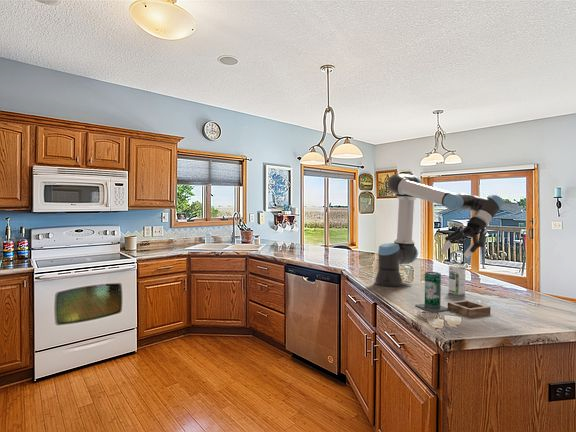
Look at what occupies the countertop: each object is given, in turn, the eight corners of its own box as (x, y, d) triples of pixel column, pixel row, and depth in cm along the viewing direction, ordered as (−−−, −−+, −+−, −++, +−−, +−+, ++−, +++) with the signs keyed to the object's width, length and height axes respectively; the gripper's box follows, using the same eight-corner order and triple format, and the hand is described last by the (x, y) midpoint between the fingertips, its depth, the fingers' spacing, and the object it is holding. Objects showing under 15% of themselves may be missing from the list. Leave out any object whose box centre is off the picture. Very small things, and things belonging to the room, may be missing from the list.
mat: (415, 306, 148) (415, 304, 148) (432, 304, 151) (432, 302, 151) (432, 312, 138) (432, 311, 138) (450, 310, 142) (450, 308, 142)
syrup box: (447, 292, 172) (448, 265, 172) (456, 291, 174) (456, 264, 174) (456, 295, 167) (457, 267, 167) (465, 294, 169) (466, 266, 169)
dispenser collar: (447, 309, 144) (447, 302, 143) (467, 306, 147) (467, 299, 147) (470, 317, 133) (470, 309, 133) (490, 314, 137) (490, 307, 137)
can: (422, 306, 145) (423, 273, 145) (428, 303, 149) (428, 271, 149) (436, 309, 141) (437, 275, 140) (442, 306, 145) (442, 273, 144)
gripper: (507, 229, 145) (481, 264, 141) (461, 225, 169) (437, 255, 164) (499, 217, 143) (472, 252, 139) (453, 215, 167) (429, 245, 162)
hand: (453, 254), depth 152 cm, fingers open, 13 cm apart
